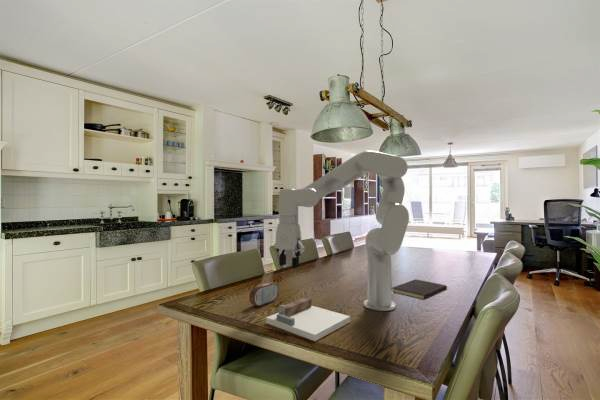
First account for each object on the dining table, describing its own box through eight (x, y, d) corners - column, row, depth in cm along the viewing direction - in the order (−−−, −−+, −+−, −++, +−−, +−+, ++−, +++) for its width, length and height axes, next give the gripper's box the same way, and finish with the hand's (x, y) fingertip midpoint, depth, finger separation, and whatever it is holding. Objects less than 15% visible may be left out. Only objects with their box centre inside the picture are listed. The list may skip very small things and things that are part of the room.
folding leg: (282, 318, 109) (282, 308, 109) (276, 316, 111) (276, 306, 111) (311, 306, 121) (311, 297, 121) (305, 305, 123) (305, 295, 123)
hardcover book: (391, 292, 148) (391, 287, 148) (415, 283, 164) (415, 279, 164) (424, 300, 136) (424, 295, 136) (446, 290, 152) (446, 285, 152)
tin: (274, 298, 139) (274, 279, 139) (280, 299, 137) (279, 280, 137) (248, 307, 127) (248, 286, 127) (254, 309, 125) (254, 288, 125)
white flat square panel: (303, 308, 126) (303, 298, 126) (350, 322, 111) (350, 310, 111) (266, 323, 111) (266, 311, 111) (315, 341, 96) (315, 328, 96)
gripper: (266, 219, 125) (266, 265, 125) (299, 221, 114) (299, 271, 114) (279, 219, 131) (280, 262, 131) (312, 220, 120) (312, 267, 120)
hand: (289, 265), depth 123 cm, fingers open, 6 cm apart
